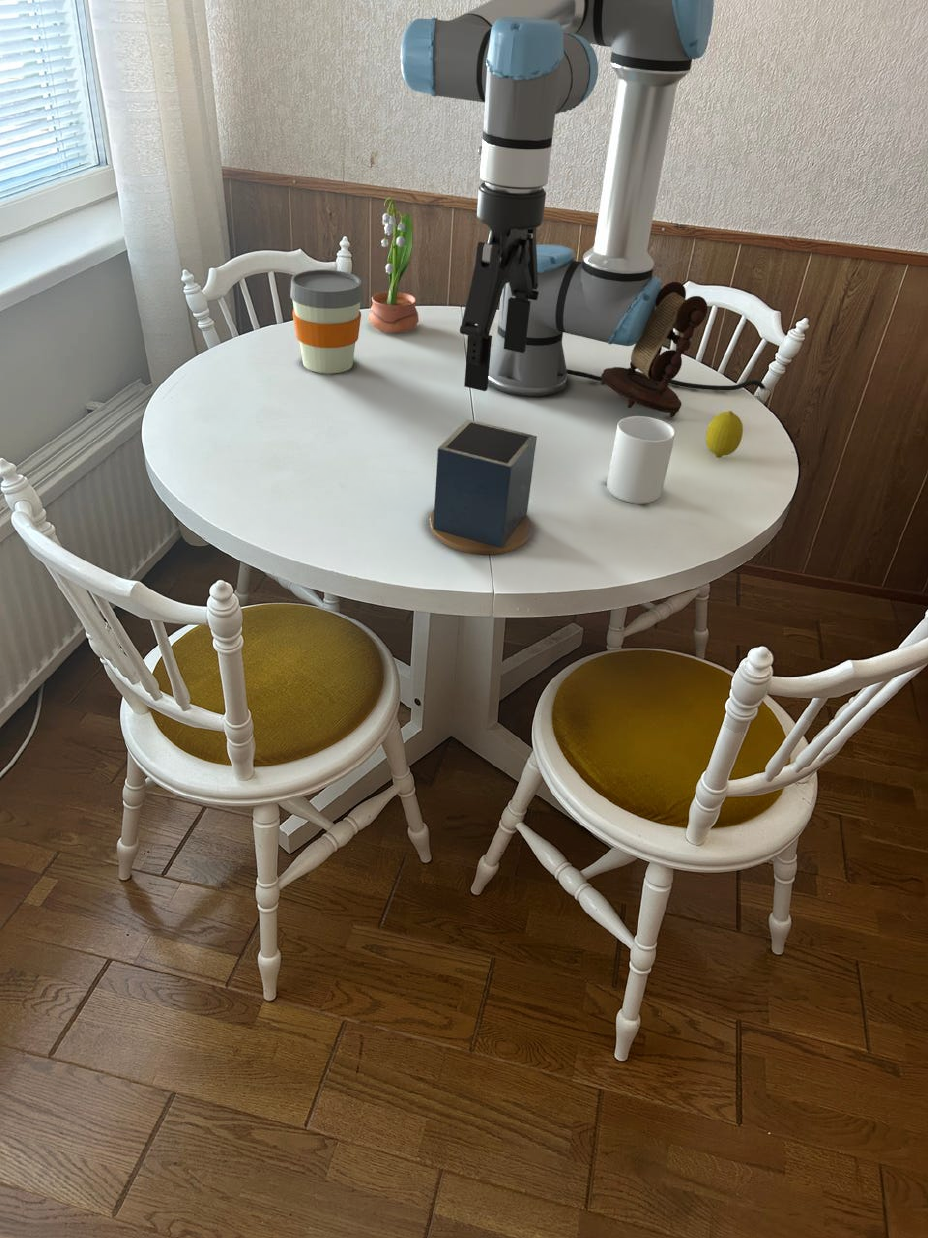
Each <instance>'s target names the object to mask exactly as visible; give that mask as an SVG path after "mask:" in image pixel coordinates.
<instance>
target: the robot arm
mask: <svg viewBox="0 0 928 1238" xmlns="http://www.w3.org/2000/svg"><path fill="white" fill-rule="evenodd" d="M714 4H715V0H489V1H487V2H484V3H483V4H481V5H479V6H476V7H475V8H473V9H471V10H469V11H467V12H465V13H463V14H461V15H459V16H457V17H454V18H452V19H450V20H449V19H448V20H443V19H438V17H432V18H415V19H414V20H412V21H411V22H410V24H408V26H407V28H406V30H405V32H404V34H403V37H402V41H401V47H400V68H401V73H402V77H403V80H404V82H405V84H406V86H407V87H408V88H410V90H412V91H415V92H417V93H418V92H419V93H423V94H428V95H431V96H432V97H442V98H449V99H456V100H463V101H464V100H465V101H472V102H479V103H484V114H483V115H484V116H483V131H482V141H481V142H482V144H481V146H480V145H479V147H478V148H477V154H478V156H481V160H480V171H479V172H480V173H479V177H480V179H481V180H482V181H483V182H482V183H480V185H479V187H478V192H477V206H476V207H477V208H476V217H477V219H478V221H479V222H480V223H482V224H484V225H487V226H488V228H489V230H490V231H489V234H488V235H489V236H488V239H487V240H486V242H483V241H478V243H477V245H476V252H475V261H474V267H473V271H472V277H471V279H470V285H469V289H468V294H467V299H466V302H465V307H464V311H463V316H462V320H461V325H460V327H459V334H461V335H464V336H467V343H466V357H465V372H464V385H463V387H465V388H470V389H474V390H478V391H482V392H486V391H488V389H489V386H490V387H492V388H494V389H496V390H498V391H500V392H503V393H506V394H510V395H515V396H522V397H544V396H550V395H554V394H557V393H559V392H561V391H563V390H564V389H565V387H566V385H567V380H568V375H570V376H576V377H580V378H585V379H589V380H593V381H597V382H601V380H602V379H601V376H599V375H595V374H592V373H587V372H582V371H578V370H572V369H569V368H567V364H566V359H565V353H564V347H563V336H564V334H568V335H573V336H577V337H582V338H584V339H585V338H586V339H589V340H594V341H599V342H603V343H606V344H608V345H616V346H617V345H618V346H623V347H632V346H635V345H636V343H637V342H638V341H639V340H640V339H641V337H642V335H643V332H644V330H645V327H646V325H647V322H648V320H649V319H650V317H651V315H652V314H653V312H654V311H655V309H656V299H657V296H658V294H659V292H660V290H661V289H662V280H661V278H660V277H658V276H657V275H653V274H654V273H653V272H654V268H655V261H654V260H653V258H652V257H651V256H650V254H649V253H648V248H649V242H650V236H651V230H652V225H653V220H654V214H655V209H656V205H657V203H656V202H657V197H658V194H659V193H658V192H659V187H660V182H661V175H662V169H663V165H664V158H665V153H666V148H667V143H668V137H669V131H670V125H671V120H672V114H673V109H674V103H675V99H676V93H677V87H678V84H679V82H681V80H682V79H684V78H685V77H686V76H687V75H688V74H690V72H691V69H692V64H693V60H697V59H700V58H702V57H703V56H704V54H705V53H706V51H707V48H708V44H709V37H710V36H711V32H712V26H713V16H714V6H715V5H714ZM592 45H596V46H599V47H607V48H611V53H610V58H609V65H610V66H611V68H612V69H613V71H614V72H615V74H616V76H617V85H616V91H615V98H614V105H613V112H612V119H611V120H612V121H611V125H610V126H611V127H610V132H609V139H608V146H607V154H606V162H605V167H604V175H603V182H602V188H601V195H600V202H599V209H598V217H597V222H596V230H595V237H594V244H593V246H592V247H590V248H589V249H588V250H587V251H586V252H584V254H583V256H582V261H577V260H575V257H576V255H575V251H574V250H573V248H571V247H567V246H566V245H562V244H537V231H538V230H537V228H538V227H540V226H541V225H542V224H543V221H544V216H545V207H546V198H547V192H546V190H545V188H543V187H545V186H546V185H547V184H548V183H549V177H550V167H551V156H552V149H553V148H552V147H553V145H552V144H553V135H554V128H555V127H554V126H555V120H556V119H555V118H556V115H557V114H560V113H566V112H569V111H572V110H573V109H576V108H577V107H578V106H580V105H581V104H582V103H583V102H584V101H586V100H587V99H588V98H589V97H590V95H591V94H592V92H593V91H594V89H595V87H596V84H597V81H598V77H599V62H598V58H597V57H598V56H597V53H596V51H595V49H594V47H593V46H592ZM498 307H499V309H498ZM497 311H498V320H497V329H496V330H497V331H496V336H495V339H494V341H493V335H491V334H490V332H491V329H492V326H493V323H494V320H495V317H496V313H497ZM669 384H670V385H673V386H676V387H677V386H678V387H683V388H689V389H697V390H705V391H706V390H708V391H737V390H739V389H743V388H745V387H746V388H747V387H748V386H752V385H755V386H757V387H758V388H760V389H762V390H766V386H765V385H764V383H763V382H761V381H760V380H758V379H751V380H747V381H744V382H741V383H738V384H734V385H715V384H714V385H713V384H702V383H701V384H699V383H691V382H687V381H686V382H684V381H680V380H675V379H672V380H670V381H669V382H668V385H669Z"/></svg>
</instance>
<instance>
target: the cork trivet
mask: <svg viewBox="0 0 928 1238" xmlns="http://www.w3.org/2000/svg"><path fill="white" fill-rule="evenodd" d="M433 520H434V509H433V510H432V512H431V513H430V516H429V529H430V531H431V533H432V534H433V536H434V537H435V538H436V539H437V540H438V541H439V542H440V543H442V544H443V545H445V546H447V547H449V548H452V549H454V550H456V551H460V552H463V553H467V554H474V555H497V554H498V555H500V554H504V553H509V552H511V551H514V550H516V549H518V548H520V547H522V546H523V545H524V544H526V543H527V542H528V540H529V539H530V536H531V533H532V532H531V531H532V522H531V519H530V518H529V516H528V515H526V516H525V517H524V519H523V520H522V521H521V523H520V524H519V526H518V527H517V528H516V530H515V531H514V532H513V534H512V535H511V536H510V538H509V539H508V541H507V542H506V543H505V545H504V546H503V547H502V548H499V547H495V546H492V545H488V544H485V543H481V542H478V541H474V540H471V539H467V538H464V537H460V536H456V535H453V534H449V533H446V532H442V531H439V530H435V529H433Z"/></svg>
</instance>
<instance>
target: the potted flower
mask: <svg viewBox="0 0 928 1238" xmlns="http://www.w3.org/2000/svg"><path fill="white" fill-rule="evenodd" d="M390 199H393V196H389V197H387V198H386V199H385V201H384V203H383V206H384V207H385V206H386V203H387V201H388V200H390ZM397 214H399V215H400V218H401V220H400V222H399V223H398V222H397V221H398V220H397ZM381 221H382V225H383V226H384V232H383V234H384V237H386V236H392V235H393V239H392V242H391V246H390V248H389V253H388V257H387V264H386V265H385V273H386V274H388V279H389V289H388V291H382V292H378V293H375V294H374V295H372V297H371V300H372V305H371V307H370V309H369V312H368V321H369V322H370V324H371V326H373V327H374V328H375V329H377V330H378V331H381V332H385V333H388V334H389V333H391V334H401V333H406V332H409V331H411V330H413V329H415V328H416V326H417V325H418V324H419V312H418V310H417V308H416V303H417V299H416V298H415V296H413V295H412V294H409V293H405V292H401V291H399V285H400V282H401V280H402V277H403V275H404V274H405V272H406V270H407V268H408V266H409V264H410V259H411V254H412V249H413V221H412V217H411V215H410V214H409V212H407V213H405V214H404V215H402V213H401V211H399V210H396V205H395V201H394V200H391V201H390V202H389V206H388V207H387V210H386V213H385V212H384V213H383V215H382V219H381ZM381 247H383V248H386V247H389V240H388V238H382V239H381Z"/></svg>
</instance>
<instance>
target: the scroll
mask: <svg viewBox="0 0 928 1238" xmlns="http://www.w3.org/2000/svg"><path fill="white" fill-rule="evenodd" d="M686 297H687V290H686V287H685V286H684V285H683V284H682V283H681V282H679V281H671V282H669V283H666V284H665V285H664V286H663V287H661V290H660V292H659V294H658V296H657V299H656V307H655V310H654V312H653V314H652V315H651V317H650V319H649V320H648V322H647V325H646V327H645V330H644V332H643V335H642V337H641V339H640V340H639V341H638V342H637V343H636V344H634V347H633V349H632V352H631V356H630V364H629V365H630V367H627V368H626V367H620V366H613V367H608V368H605V369H603V371H602V373H601V376H600V377H601V379H602V380H601V381H600V382H601V383H600V384H601V385H603V386H604V385H606V386H607V387H608V388H609V389H611V390H612V392H615V393H616V394H618V395H619V396H621V397H623V398H625V399H627V403H626V404H627V405H626V407H627V409H631V408H633V406H634V405H635V404H637V405H639V406H642V407H645V408H647V409H650V410H652V411H656V412H660V413H664V414H669V418H671V419H673V418H674V417H675V416H676V415H677V414H678V413H679V411H680V410H681V407H682V405H683V403H682V401H681V399H680V398H679V396H678V395H677V394H676V392H675V391H674V390H673V389H672V388H670V387H669V383H668V382H669V381H670V380H674V379H675V377H676V376H677V375H678V374H679V372H680V370H681V368H682V365H683V358H682V354H683V355H684V354H685V352H687V351H689V350H690V348H691V346H692V345H691V344H692V342H691V340H690V339H692V338H693V336H694V333H695V329H696V328H698V327H699V326H700V325H701V324H702V323H703V322H704V320H705V319H706V316H707V313H708V302H707V300H706V299H705V298H704V297H702V296H700V295H694V296H690V297H688V298H687V299H686ZM673 329H674V330H675V331H676V332H678V333H680V334H683V336H680V335H678V334H676V332H675V331H674V330H673ZM666 339H668V340H669V341H671V342H672V343H673V344H674V345H675V346H676V348H675V349H669V350H665V351H664V352H662V349H663V344H664V342H665V341H666Z"/></svg>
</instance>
